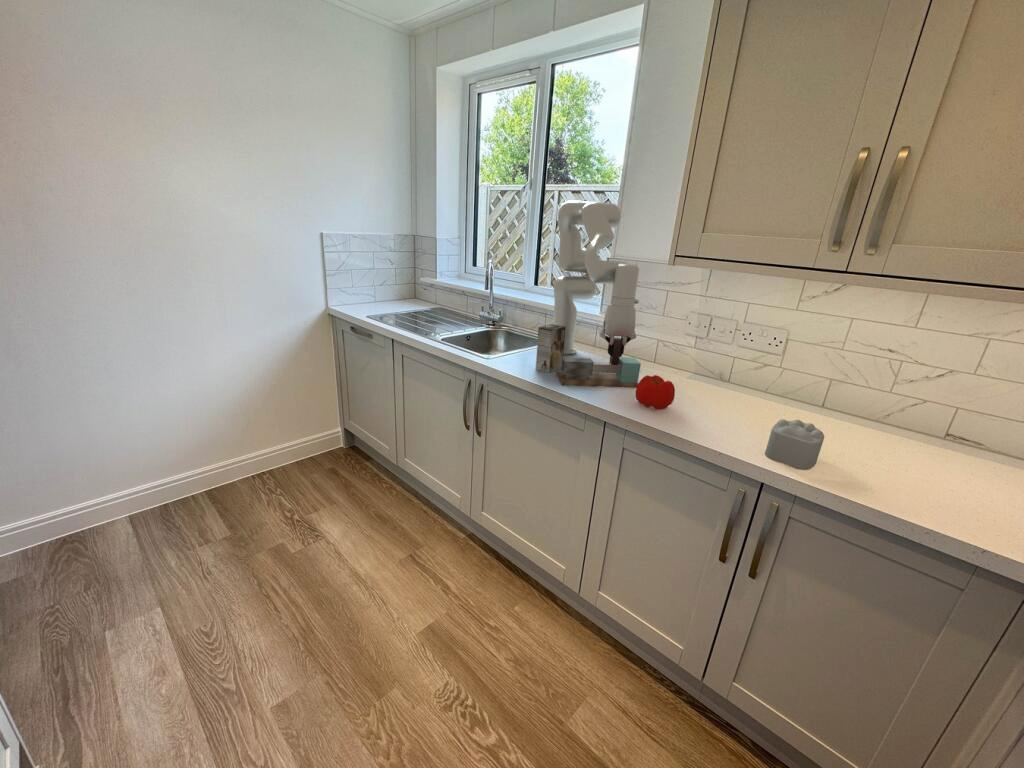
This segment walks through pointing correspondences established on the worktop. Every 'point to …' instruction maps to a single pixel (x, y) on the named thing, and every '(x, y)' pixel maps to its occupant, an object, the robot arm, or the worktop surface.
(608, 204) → the robot arm
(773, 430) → the lumpy-topped squat cylinder
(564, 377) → the sleeve base
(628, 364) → the socket block
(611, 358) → the grey l-shaped piece
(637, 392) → the tomato
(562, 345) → the coffee box
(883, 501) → the worktop surface
